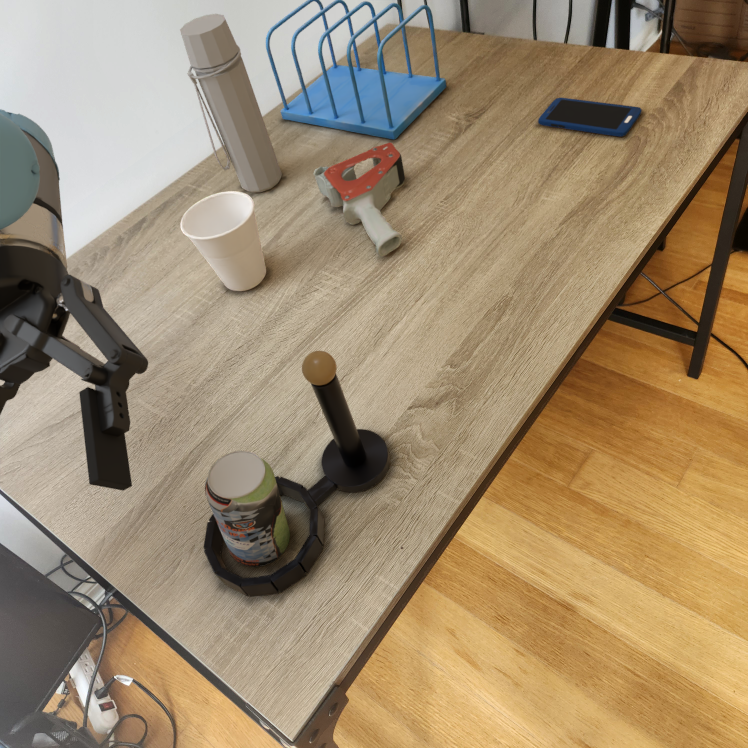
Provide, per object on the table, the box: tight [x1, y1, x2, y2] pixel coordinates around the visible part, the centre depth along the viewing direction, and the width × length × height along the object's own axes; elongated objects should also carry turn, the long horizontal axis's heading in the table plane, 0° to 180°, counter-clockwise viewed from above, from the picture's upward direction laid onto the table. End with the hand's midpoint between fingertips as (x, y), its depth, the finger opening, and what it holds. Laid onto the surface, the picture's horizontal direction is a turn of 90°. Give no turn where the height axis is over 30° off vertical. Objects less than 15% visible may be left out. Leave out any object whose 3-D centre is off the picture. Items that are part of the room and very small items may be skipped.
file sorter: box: [265, 0, 447, 140], centre depth 111 cm, size 25×17×15 cm
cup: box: [180, 190, 267, 292], centre depth 87 cm, size 10×10×11 cm
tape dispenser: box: [313, 142, 406, 257], centre depth 94 cm, size 18×5×20 cm
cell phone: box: [537, 97, 642, 138], centre depth 100 cm, size 7×14×1 cm, turn 56°
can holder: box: [203, 350, 391, 598], centre depth 59 cm, size 13×20×17 cm, turn 152°
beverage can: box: [204, 450, 291, 568], centre depth 59 cm, size 6×7×12 cm
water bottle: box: [179, 13, 283, 194], centre depth 97 cm, size 9×8×25 cm
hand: (33, 527), depth 42 cm, fingers open, 13 cm apart
